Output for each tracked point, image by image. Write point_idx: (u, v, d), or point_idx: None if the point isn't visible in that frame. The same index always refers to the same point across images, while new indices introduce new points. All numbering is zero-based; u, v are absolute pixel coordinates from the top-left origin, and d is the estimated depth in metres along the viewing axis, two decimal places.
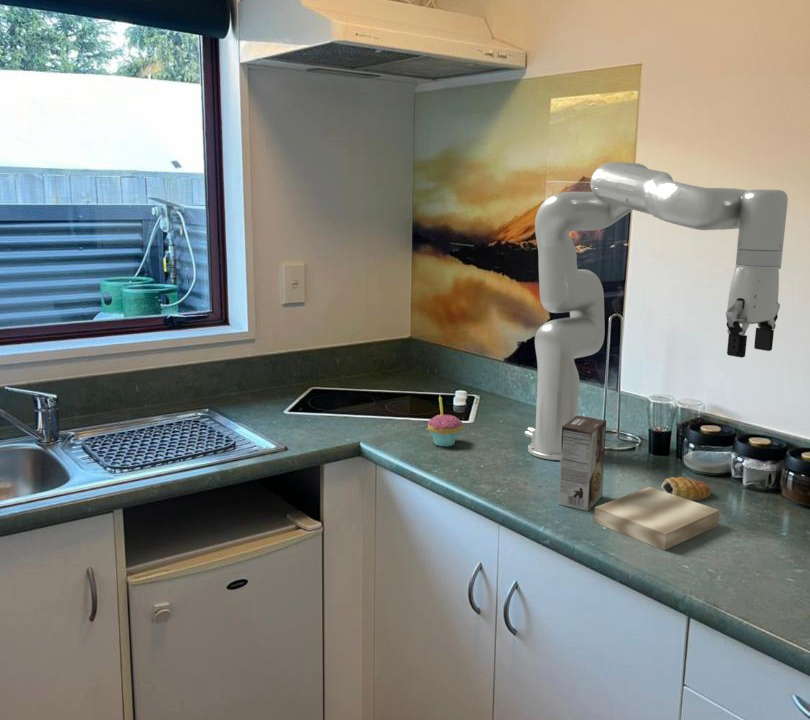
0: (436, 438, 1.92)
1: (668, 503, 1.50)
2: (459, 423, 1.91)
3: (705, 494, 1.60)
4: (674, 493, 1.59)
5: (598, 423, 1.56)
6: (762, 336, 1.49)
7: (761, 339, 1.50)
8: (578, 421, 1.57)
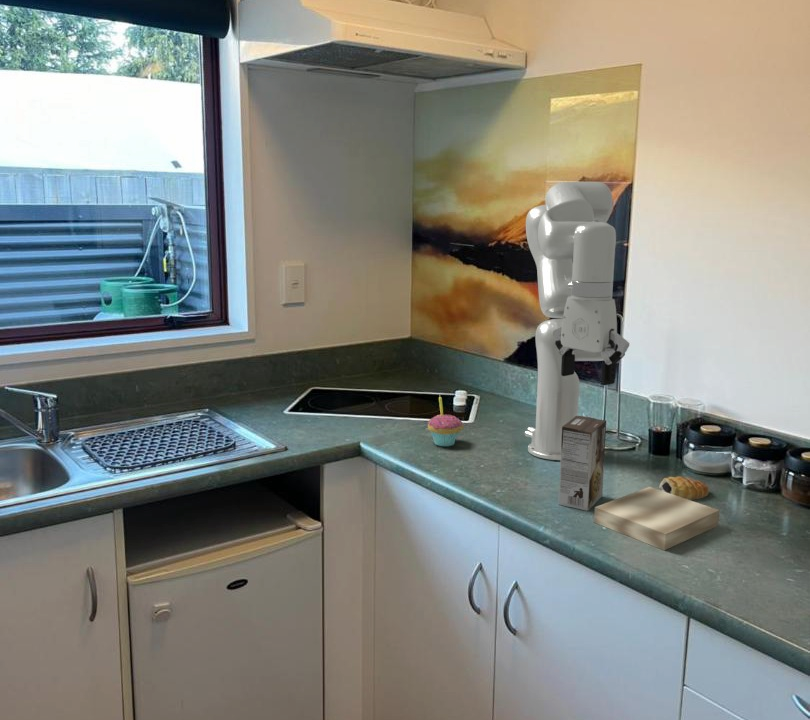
0: (436, 438, 1.92)
1: (668, 503, 1.50)
2: (459, 423, 1.91)
3: (703, 493, 1.61)
4: (673, 493, 1.59)
5: (598, 423, 1.56)
6: (569, 362, 1.56)
7: (568, 365, 1.56)
8: (578, 421, 1.57)
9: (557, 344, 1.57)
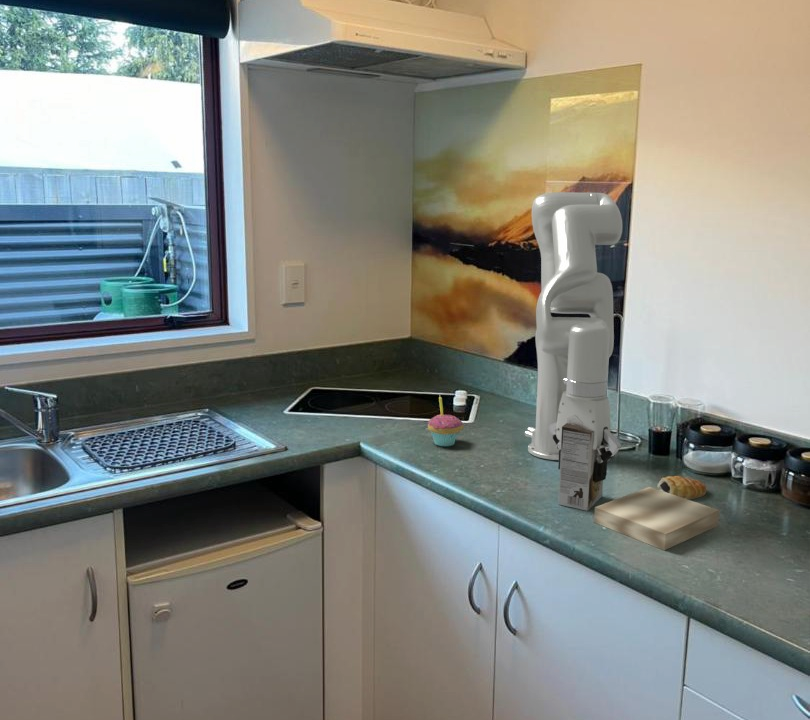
0: (436, 438, 1.92)
1: (668, 503, 1.50)
2: (459, 423, 1.91)
3: (701, 492, 1.61)
4: (671, 492, 1.59)
5: None
6: None
7: None
8: None
9: (554, 438, 1.61)
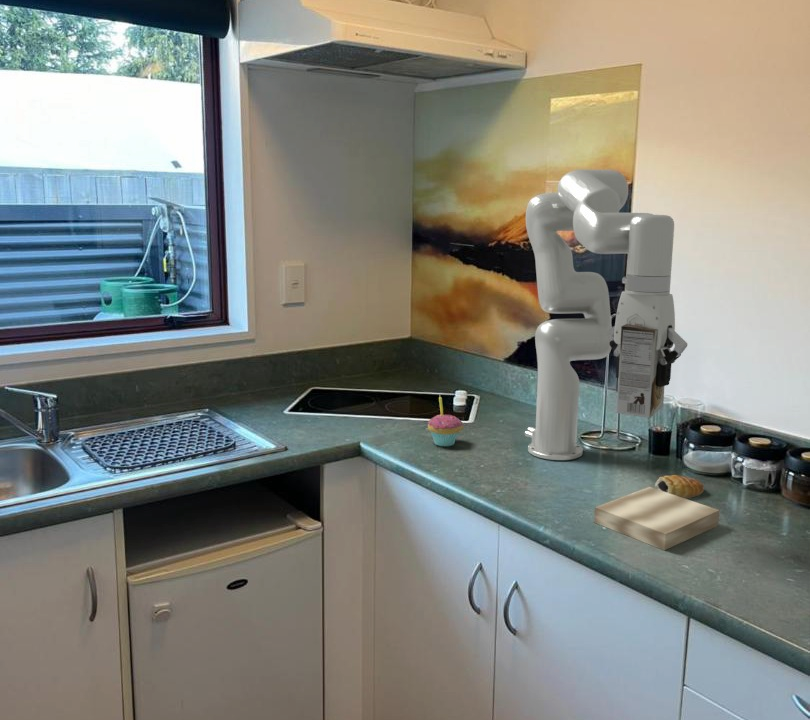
0: (436, 438, 1.92)
1: (668, 503, 1.50)
2: (459, 423, 1.91)
3: (699, 491, 1.62)
4: (670, 491, 1.60)
5: None
6: None
7: None
8: None
9: (611, 344, 1.49)
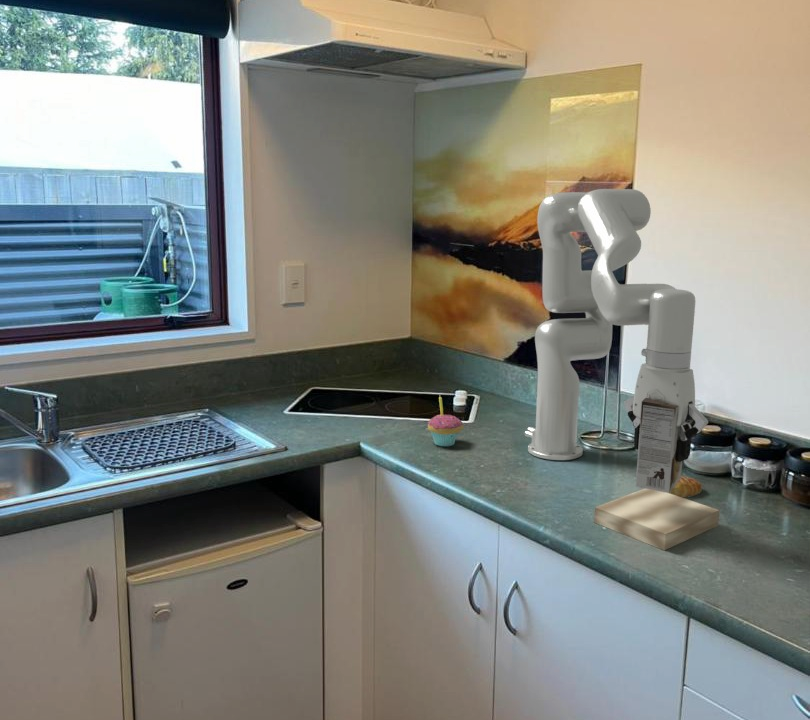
0: (436, 438, 1.92)
1: (668, 503, 1.50)
2: (459, 423, 1.91)
3: (697, 490, 1.62)
4: None
5: None
6: None
7: None
8: None
9: (630, 415, 1.48)
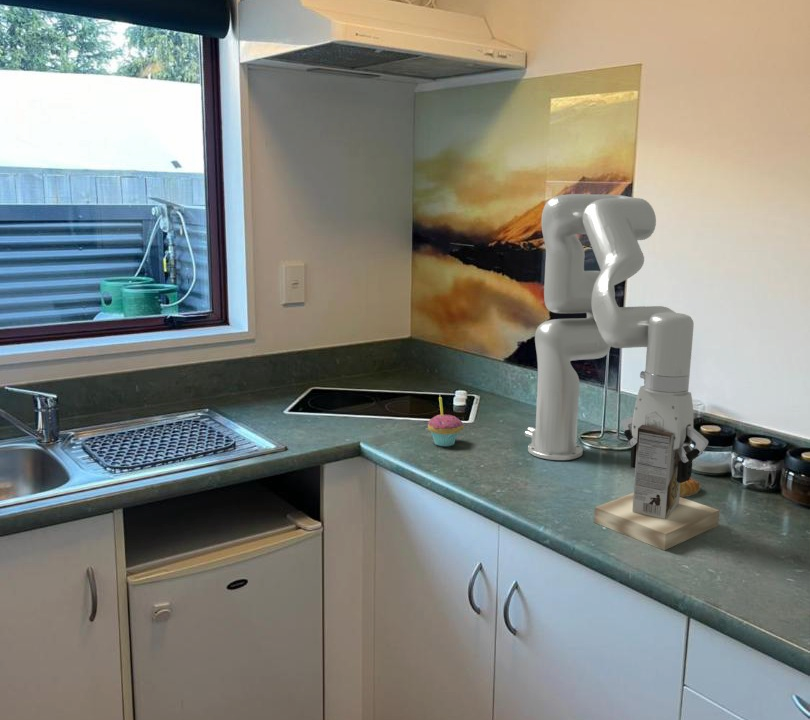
0: (436, 438, 1.92)
1: None
2: (459, 423, 1.91)
3: (695, 489, 1.62)
4: None
5: None
6: None
7: None
8: None
9: (626, 434, 1.49)
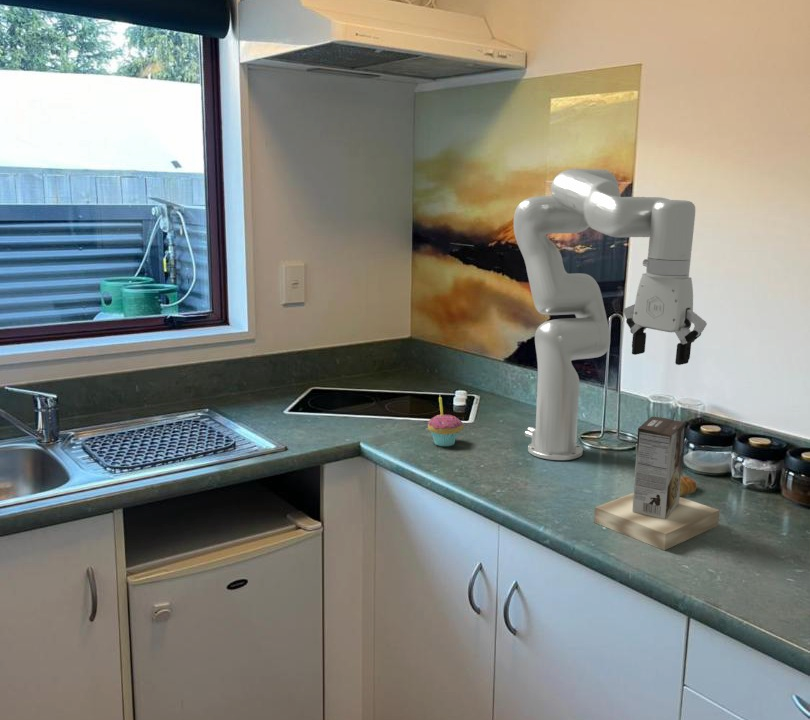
0: (436, 438, 1.92)
1: None
2: (459, 423, 1.91)
3: (693, 488, 1.63)
4: None
5: (677, 424, 1.44)
6: (640, 341, 1.54)
7: (640, 344, 1.54)
8: (654, 422, 1.45)
9: (628, 322, 1.55)
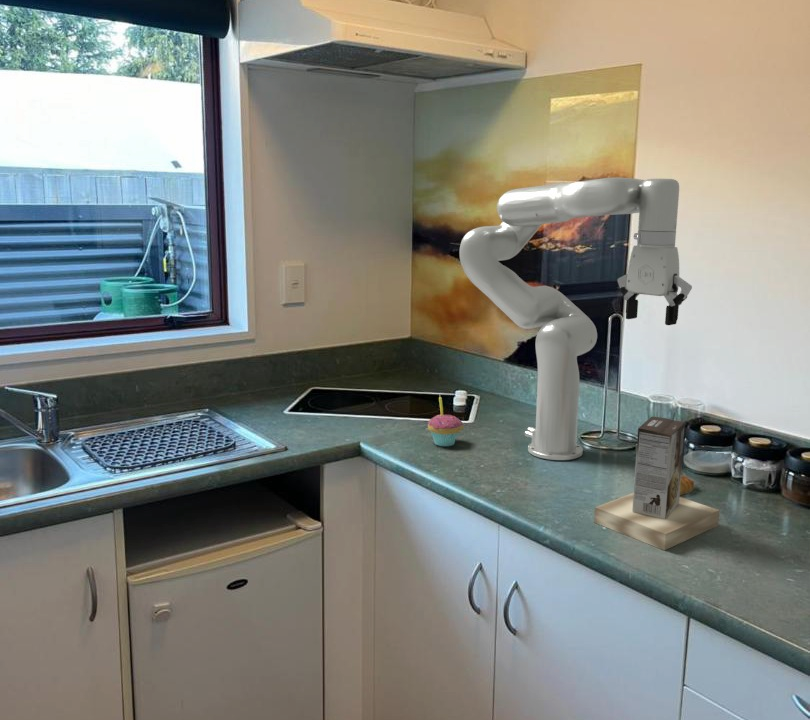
0: (436, 438, 1.92)
1: None
2: (459, 423, 1.91)
3: (691, 487, 1.63)
4: None
5: (677, 424, 1.44)
6: (633, 307, 1.72)
7: (632, 309, 1.72)
8: (654, 422, 1.45)
9: (622, 290, 1.72)
